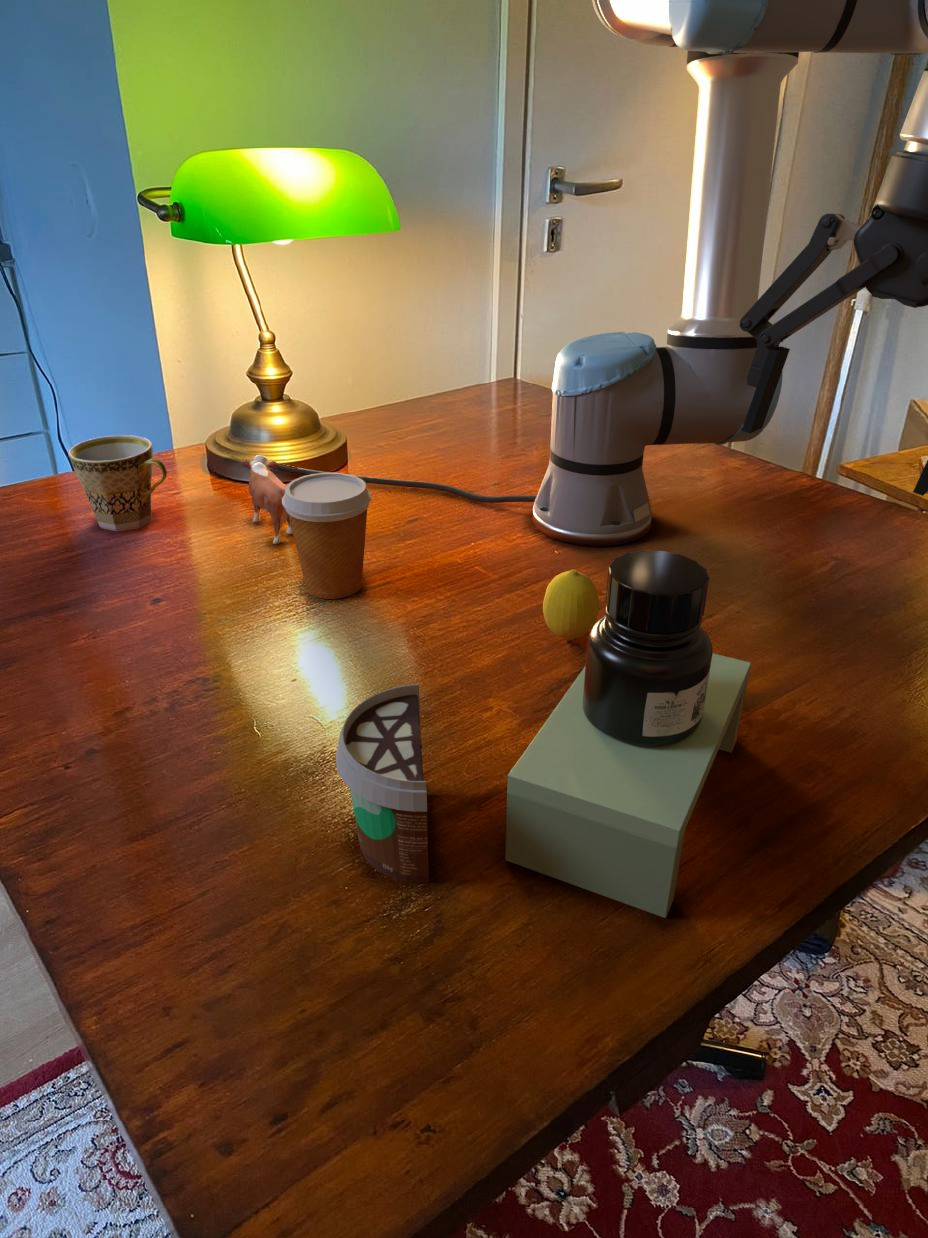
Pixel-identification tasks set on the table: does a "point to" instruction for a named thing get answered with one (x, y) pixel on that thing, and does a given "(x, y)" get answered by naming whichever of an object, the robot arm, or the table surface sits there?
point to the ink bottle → (649, 650)
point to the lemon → (570, 605)
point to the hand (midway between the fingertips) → (833, 458)
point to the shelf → (616, 796)
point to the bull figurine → (267, 493)
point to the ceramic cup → (117, 479)
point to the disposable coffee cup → (329, 531)
